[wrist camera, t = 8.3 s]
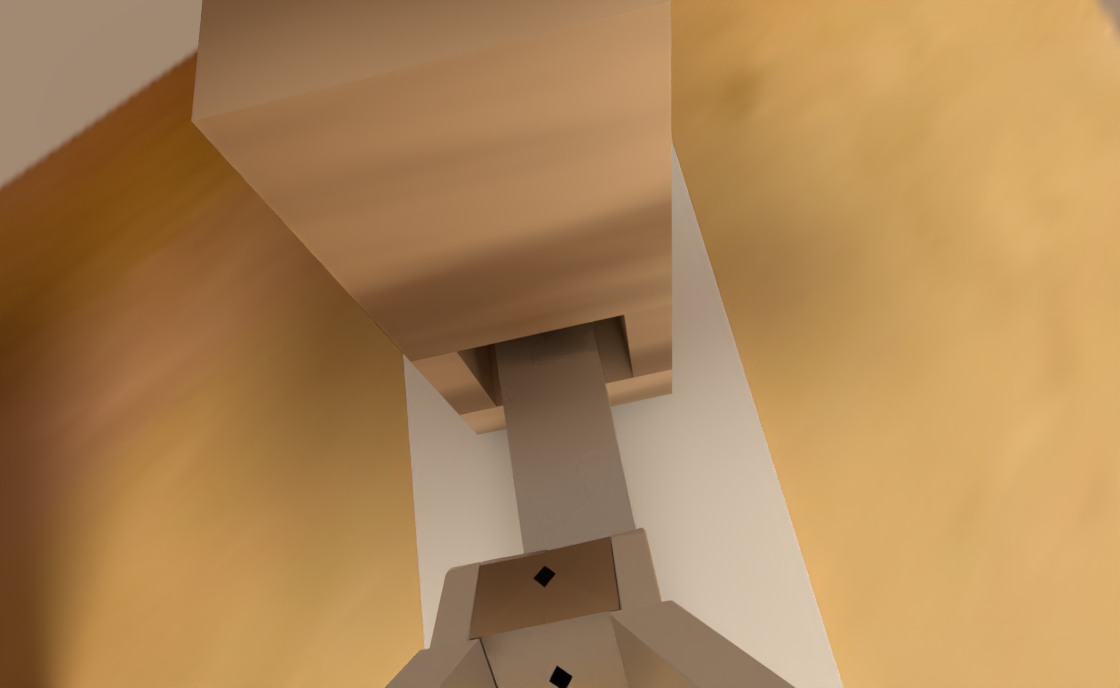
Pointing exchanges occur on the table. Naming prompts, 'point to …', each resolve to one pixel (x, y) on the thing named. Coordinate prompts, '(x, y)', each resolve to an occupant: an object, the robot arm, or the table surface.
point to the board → (650, 486)
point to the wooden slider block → (463, 169)
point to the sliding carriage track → (562, 439)
